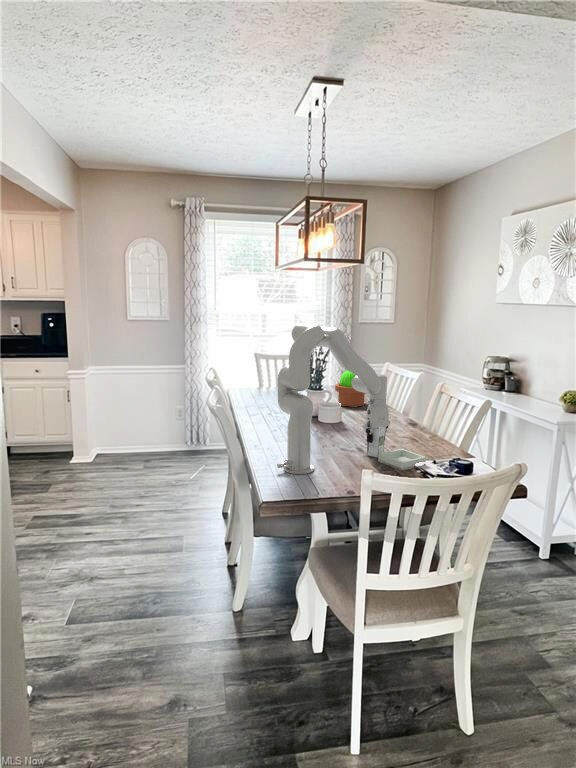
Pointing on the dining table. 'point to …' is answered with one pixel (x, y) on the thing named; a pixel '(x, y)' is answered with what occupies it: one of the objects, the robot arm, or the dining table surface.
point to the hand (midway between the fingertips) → (375, 440)
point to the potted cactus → (348, 391)
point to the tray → (401, 459)
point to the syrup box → (376, 442)
